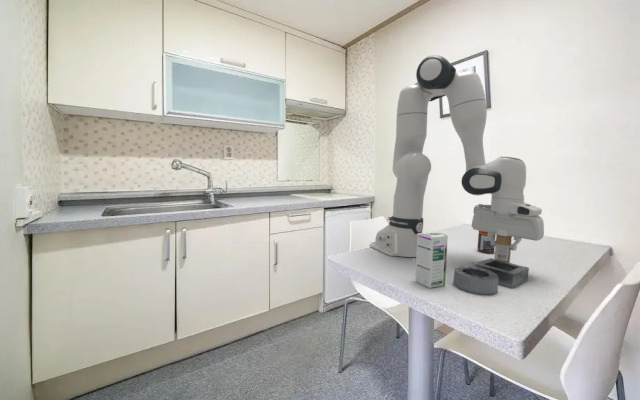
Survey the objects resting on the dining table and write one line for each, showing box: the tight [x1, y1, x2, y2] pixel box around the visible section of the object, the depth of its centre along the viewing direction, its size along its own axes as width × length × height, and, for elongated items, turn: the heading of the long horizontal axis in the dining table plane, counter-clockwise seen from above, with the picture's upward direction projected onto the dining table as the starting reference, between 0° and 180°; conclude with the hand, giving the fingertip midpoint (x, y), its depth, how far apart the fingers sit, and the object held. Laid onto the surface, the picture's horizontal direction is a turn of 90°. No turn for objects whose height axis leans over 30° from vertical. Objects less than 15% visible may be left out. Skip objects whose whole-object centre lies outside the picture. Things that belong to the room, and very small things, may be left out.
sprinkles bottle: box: [493, 230, 513, 263], centre depth 91 cm, size 5×5×14 cm
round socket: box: [453, 265, 499, 296], centre depth 76 cm, size 10×10×4 cm
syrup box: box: [415, 231, 449, 289], centre depth 78 cm, size 6×6×14 cm
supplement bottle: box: [476, 230, 496, 254], centre depth 111 cm, size 6×6×11 cm
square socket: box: [473, 258, 530, 289], centre depth 83 cm, size 10×10×4 cm
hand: (502, 247), depth 91 cm, fingers closed on sprinkles bottle, 4 cm apart
